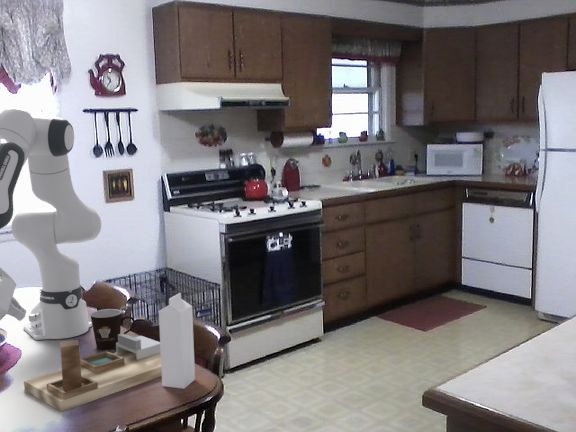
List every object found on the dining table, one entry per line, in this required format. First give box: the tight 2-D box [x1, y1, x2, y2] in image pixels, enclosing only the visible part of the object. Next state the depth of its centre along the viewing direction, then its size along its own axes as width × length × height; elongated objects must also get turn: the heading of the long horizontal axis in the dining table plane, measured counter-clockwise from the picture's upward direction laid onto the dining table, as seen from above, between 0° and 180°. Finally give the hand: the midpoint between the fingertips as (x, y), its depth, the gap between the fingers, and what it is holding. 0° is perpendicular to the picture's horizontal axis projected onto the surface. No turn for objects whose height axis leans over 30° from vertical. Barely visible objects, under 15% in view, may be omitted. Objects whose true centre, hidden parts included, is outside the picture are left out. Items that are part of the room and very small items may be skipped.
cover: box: [115, 332, 161, 360], centre depth 169 cm, size 10×8×5 cm
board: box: [23, 350, 162, 413], centre depth 157 cm, size 18×33×4 cm, turn 138°
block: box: [59, 339, 82, 392], centre depth 145 cm, size 4×4×11 cm
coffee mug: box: [90, 308, 136, 352], centre depth 181 cm, size 12×9×10 cm
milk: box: [158, 292, 196, 390], centre depth 153 cm, size 6×6×22 cm
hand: (23, 316), depth 141 cm, fingers closed
